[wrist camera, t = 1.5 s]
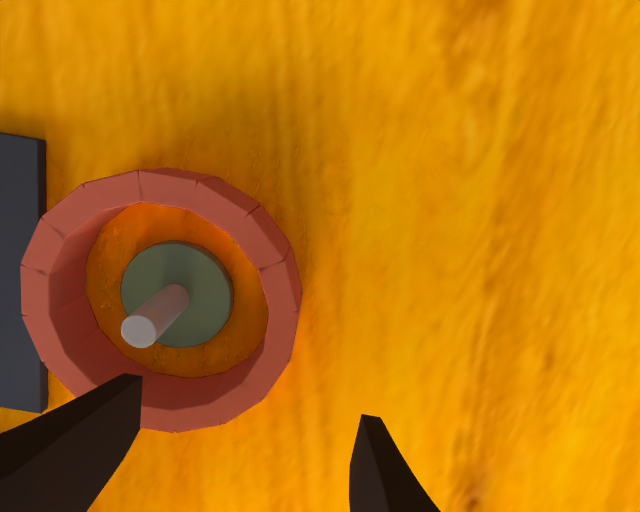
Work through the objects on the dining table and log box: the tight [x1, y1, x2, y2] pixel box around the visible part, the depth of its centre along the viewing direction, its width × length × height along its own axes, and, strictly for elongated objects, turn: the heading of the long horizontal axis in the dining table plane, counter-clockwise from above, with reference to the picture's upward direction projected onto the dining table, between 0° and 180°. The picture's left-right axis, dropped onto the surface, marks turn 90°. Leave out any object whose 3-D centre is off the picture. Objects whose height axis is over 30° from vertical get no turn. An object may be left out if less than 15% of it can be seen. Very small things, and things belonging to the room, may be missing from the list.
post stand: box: [121, 240, 234, 348], centre depth 20 cm, size 6×6×5 cm
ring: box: [20, 168, 303, 433], centre depth 21 cm, size 13×13×3 cm
